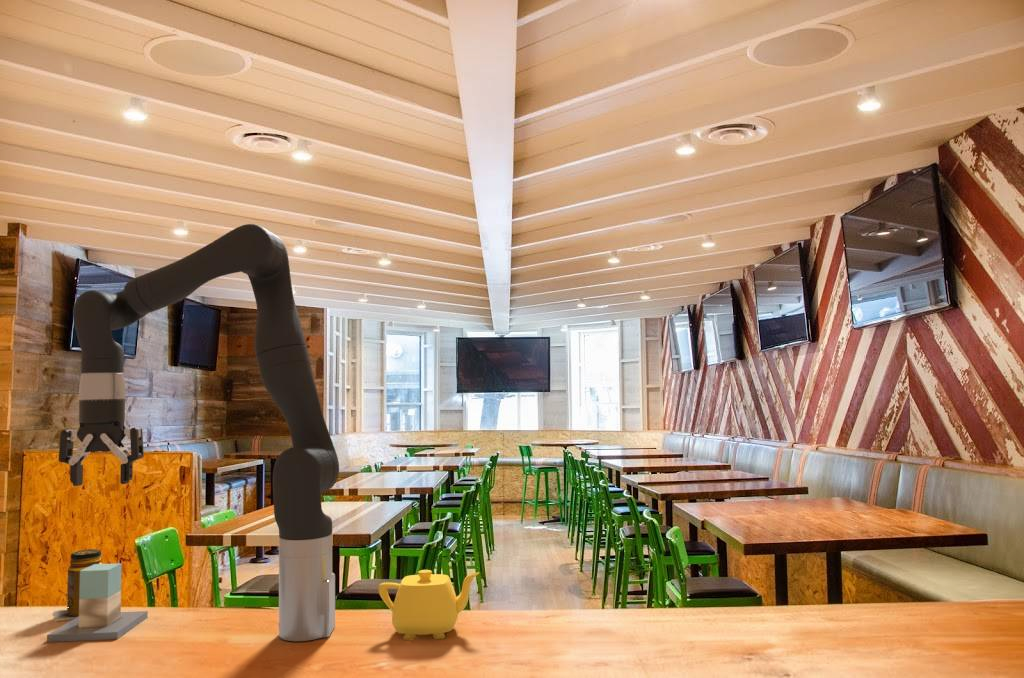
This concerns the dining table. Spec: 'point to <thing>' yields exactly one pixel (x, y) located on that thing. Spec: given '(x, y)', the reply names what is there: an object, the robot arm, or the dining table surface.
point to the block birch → (99, 611)
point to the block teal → (100, 581)
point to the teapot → (425, 604)
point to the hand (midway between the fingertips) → (101, 484)
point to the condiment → (76, 581)
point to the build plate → (97, 629)
